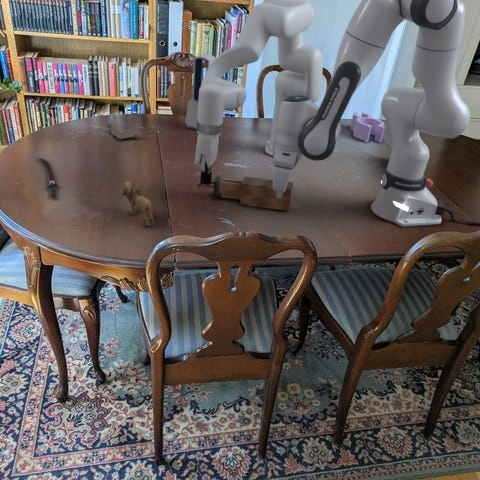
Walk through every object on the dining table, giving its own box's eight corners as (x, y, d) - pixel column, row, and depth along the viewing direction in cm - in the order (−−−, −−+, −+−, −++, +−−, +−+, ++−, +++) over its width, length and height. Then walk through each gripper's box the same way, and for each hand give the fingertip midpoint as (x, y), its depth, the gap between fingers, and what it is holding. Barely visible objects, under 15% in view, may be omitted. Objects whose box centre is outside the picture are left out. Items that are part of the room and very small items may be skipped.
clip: (343, 126, 223) (346, 112, 219) (367, 127, 225) (371, 113, 221) (360, 142, 206) (364, 127, 202) (386, 142, 209) (390, 127, 205)
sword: (61, 197, 141) (61, 193, 140) (50, 198, 139) (50, 194, 139) (49, 160, 164) (48, 156, 163) (39, 160, 163) (39, 157, 162)
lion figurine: (118, 210, 138) (116, 182, 133) (132, 204, 141) (131, 177, 137) (151, 229, 130) (150, 201, 126) (165, 223, 134) (165, 195, 129)
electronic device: (217, 128, 204) (222, 56, 188) (211, 133, 198) (215, 59, 182) (191, 123, 207) (194, 51, 191) (184, 127, 201) (186, 54, 185)
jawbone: (125, 144, 181) (124, 139, 180) (93, 130, 191) (92, 125, 190) (143, 137, 187) (142, 132, 185) (111, 123, 197) (110, 119, 196)
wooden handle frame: (196, 195, 150) (196, 179, 147) (200, 190, 154) (199, 174, 151) (258, 203, 147) (259, 187, 144) (260, 197, 151) (261, 181, 148)
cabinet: (240, 204, 148) (241, 183, 144) (243, 197, 153) (244, 176, 149) (289, 211, 146) (291, 189, 142) (291, 203, 150) (293, 182, 146)
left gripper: (204, 118, 146) (200, 172, 156) (189, 133, 134) (187, 190, 143) (227, 122, 145) (222, 176, 155) (215, 137, 133) (210, 195, 142)
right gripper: (282, 137, 147) (275, 177, 155) (272, 161, 130) (265, 204, 138) (302, 141, 147) (294, 180, 154) (294, 165, 130) (286, 208, 137)
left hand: (205, 183), depth 149 cm, fingers closed
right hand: (280, 192), depth 146 cm, fingers closed on cabinet, 5 cm apart
